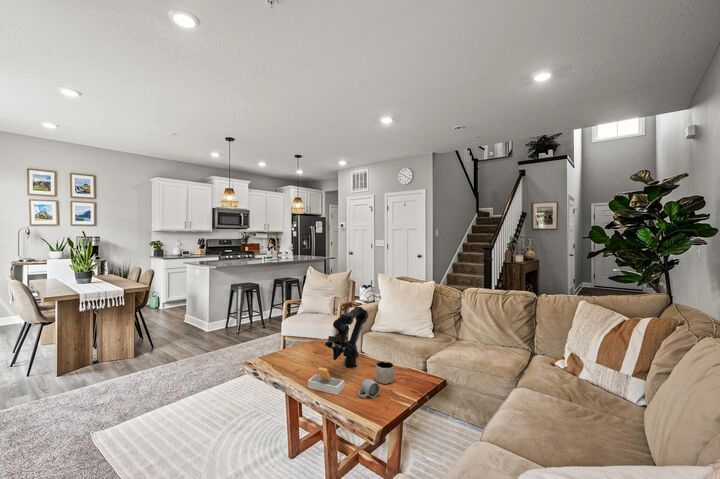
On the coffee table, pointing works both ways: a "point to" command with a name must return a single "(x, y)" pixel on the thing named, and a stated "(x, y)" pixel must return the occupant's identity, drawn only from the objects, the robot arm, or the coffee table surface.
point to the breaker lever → (324, 373)
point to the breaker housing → (326, 384)
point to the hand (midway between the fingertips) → (334, 360)
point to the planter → (384, 372)
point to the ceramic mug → (369, 388)
